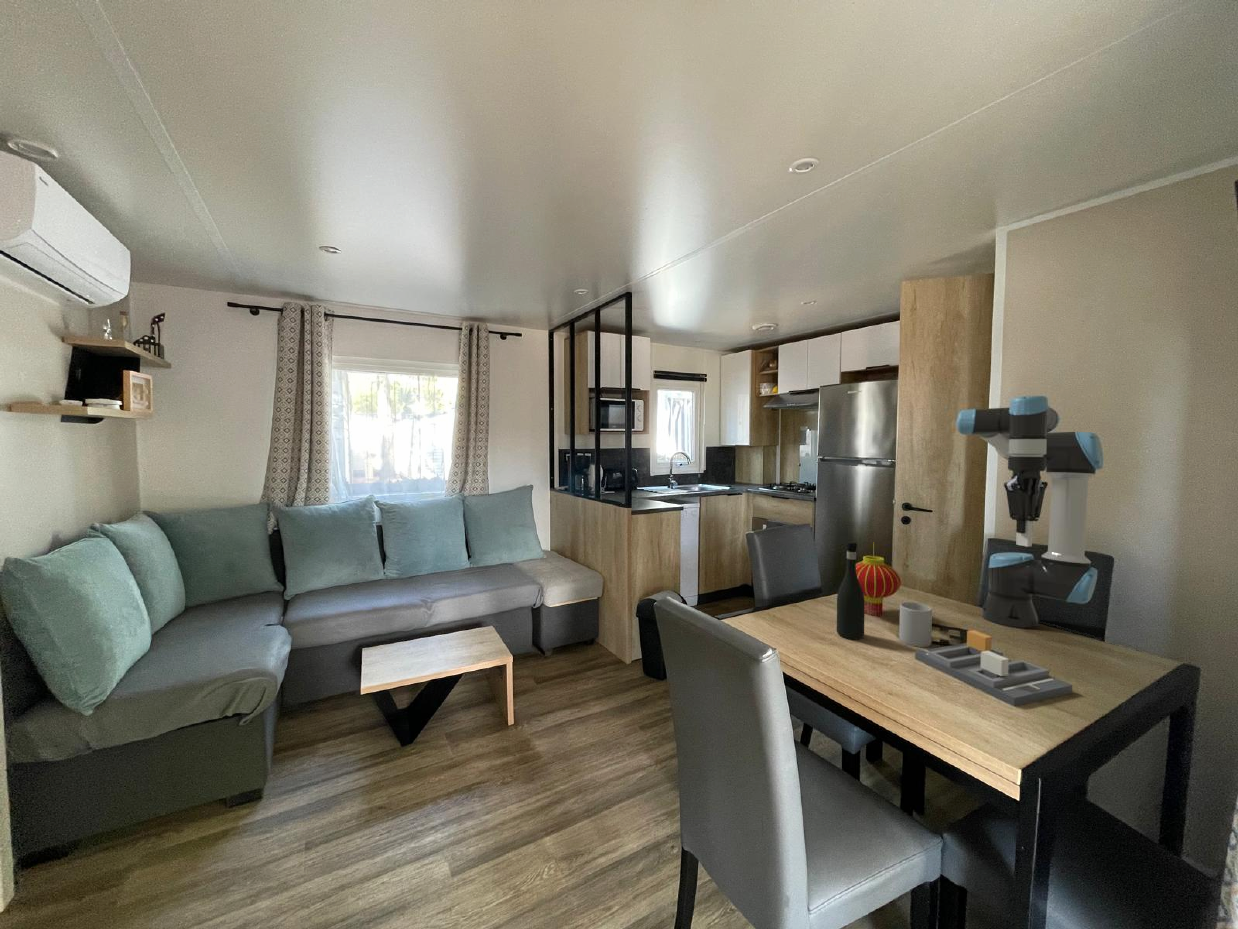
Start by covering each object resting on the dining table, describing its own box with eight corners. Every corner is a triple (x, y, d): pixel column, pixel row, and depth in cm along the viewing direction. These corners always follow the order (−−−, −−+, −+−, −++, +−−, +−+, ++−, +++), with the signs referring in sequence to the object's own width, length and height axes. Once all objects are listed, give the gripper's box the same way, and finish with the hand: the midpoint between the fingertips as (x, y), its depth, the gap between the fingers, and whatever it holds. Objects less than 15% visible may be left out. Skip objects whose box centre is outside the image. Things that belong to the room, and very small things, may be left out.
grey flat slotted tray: (966, 649, 142) (967, 637, 142) (1072, 693, 117) (1072, 679, 117) (914, 658, 136) (915, 646, 136) (1014, 706, 111) (1014, 691, 111)
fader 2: (988, 672, 123) (988, 650, 123) (1008, 681, 118) (1009, 658, 118) (979, 674, 122) (980, 652, 122) (1000, 683, 117) (1000, 660, 117)
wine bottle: (842, 628, 158) (843, 538, 157) (867, 635, 152) (869, 542, 151) (832, 635, 152) (833, 542, 151) (858, 642, 147) (860, 546, 146)
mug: (928, 649, 142) (929, 613, 141) (895, 641, 147) (896, 606, 147) (936, 637, 150) (936, 603, 150) (905, 630, 156) (905, 597, 156)
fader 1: (973, 650, 136) (974, 630, 136) (991, 657, 131) (992, 636, 131) (965, 651, 135) (966, 631, 135) (983, 658, 131) (984, 638, 130)
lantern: (836, 605, 180) (837, 527, 179) (879, 604, 182) (880, 526, 181) (864, 622, 163) (866, 535, 162) (911, 620, 165) (913, 534, 164)
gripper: (1028, 455, 130) (1025, 541, 131) (993, 455, 126) (990, 544, 127) (1061, 455, 123) (1057, 546, 124) (1024, 456, 119) (1021, 550, 120)
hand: (1023, 545), depth 126 cm, fingers closed
